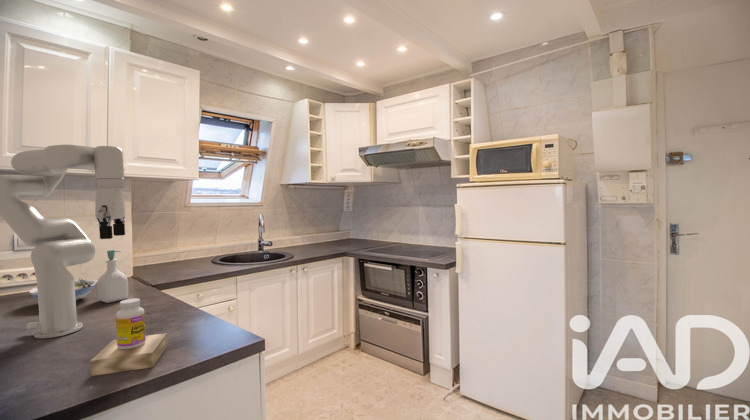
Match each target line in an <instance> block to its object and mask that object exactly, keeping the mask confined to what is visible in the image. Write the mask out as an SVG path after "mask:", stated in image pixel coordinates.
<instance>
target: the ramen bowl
mask: <svg viewBox="0 0 750 420" xmlns="http://www.w3.org/2000/svg"><path fill="white" fill-rule="evenodd" d="M74 282H75V297H76V301H78V300H79V299H81V298H84V297H86V296H87V295H88V294H89V293H91V291H92V290H93V289H94V287H95V286H96V285H97V282H98V280H93V279H83V278H80V277H79V278H78V280H74ZM28 293H29V294H30V295H31V296H32V297H33V298H34V299H35V300H37V301H38V290H37V287H34V288H31V289H30V290H29V291H28Z"/></svg>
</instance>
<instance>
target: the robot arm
mask: <svg viewBox="0 0 750 420" xmlns="http://www.w3.org/2000/svg"><path fill="white" fill-rule="evenodd" d="M10 165H11V167H12V168H13V169H14V170H15V171H16V172H17V173H20V174H0V217H1V219H3V220H4V221H5V222H6V223H7V225H8V226H9V228H10V229H11V230H12V231H13V232H14V234H16V236H17V237H18V238H19V240H20V241H22V242H23V243H24V244H25V245H26V246H30V247H34V248H33V249H32V250H31V251H30V260H31V263H32V266H33V269H34V274H35V278H36V288H37V290H38V300H37V301H38V302H37V305H38V316H39V317H38V318H39V321H36V322H35V321H34V322H33V321H32V322H28V323H26V330H27V331H31V330H35V332H34V333H33V336H34V338H36V339H53V338H58V337H62V336H65V335H70V334H73V333H75V332H77V331H79V330H81V329H83V328H84V324H83V322H81V321H78V316H77V315H78V314H77V300H76V297H75V282H74V281H75V277H74V276H73V274H72V273H71V272H70V271H69V269H67V268H68V267H72V266H77V265H82V264H86V263H89V262H90V261H92V260H93V259H94V258H95V255H96V249H95V245H94V244H93V242H92V241H91V239H90V238H89V237H88V236H87V234H86V233H85V232H84V231H83V230H82V228H80V226H79V225H78V224H77V223H76V222H75V221H74V220H72V219H70V218H68V217H67V218H66V217H44V216H43V215H41V214H40V213H39V211H38V210H37V209H36V208H35V207H34V206H32V205H31V204H29V203H27V202H25V201H22V200H29V199H32V200H34V199H35V200H36V199H37V200H38V199H44V198H45V199H46V198H47V197H49V196H50V195H51V194H52V193H53V192H54V191H55V189H56V188H57V187H58V185H59V183H60V182H61V181H62V180H63V178H64V177H65V175H66V173H67V172H68V170H84V171H85V170H88V171H94V179H95V180H94V181H95V190H96V192H95V219H96V220H97V221H98V227H99V229H98V231H99V239H100V240H111V239H112V238H113V236H125V235H126V228H125V227H126V226H125V225H126V224H125V223H126V221H125V215H126V214H125V213H126V210H125V198H124V191H123V190H125V170H124V167H125V166H124V153H123V150H122V148H120V147H117V146H113V145H97V146H96V147H92V146H84V145H79V144H78V145H76V144H56V145H48V146H46V147H45V148H44V149H34V150H32V149H31V150H23V151H20V152H18V153H15V154H14V155H13V156H12V158H11V161H10ZM21 174H22V175H21ZM112 222H113V223H112ZM111 224H112V225H111Z"/></svg>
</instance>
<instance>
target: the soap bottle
mask: <svg viewBox="0 0 750 420" xmlns="http://www.w3.org/2000/svg"><path fill="white" fill-rule="evenodd" d="M106 253H107V257H108V259H105V260H104V262H105V263H106V271H105V272H104V273H102V274H101V275H100V276H99V277H98V280H97V282H96V285H97V286H96V287H97V288H96V289H97V298H98V300H99V301H100V302H104V303H106V304H108V303H114V302H117V301H123V300H127V299H128V297H129V283H128V281H129V280H128V277H127V276H126V274H124V272H122V271H120V270H119V269H118V268H117V262H118V260H119V259H118V258H115V255H116V253H120V251H118V250H115V249H109V250H106Z"/></svg>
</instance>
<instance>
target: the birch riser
mask: <svg viewBox="0 0 750 420" xmlns="http://www.w3.org/2000/svg"><path fill="white" fill-rule="evenodd" d="M145 337H146V341H145V343H144V344H143V345H141V346H139V347H136V348H133V349H127V350H122V349H119V348H118V347H117V338H115V339H113V340H111V342H109V344H107V345H106V346H105V347H103V349H102V350H101V351H99V352H98V353H97V354H96V355H95V356H94V357H92V358H91V360H90V374H91V375H90V376H91V377H94V376H100V375H106V374H107V375H108V374H113V373H114V374H115V373H121V372H122V373H123V372H128V371H135V370H136V371H137V370H142V369H143V370H144V369H151V368H154V366H155V365H156V363H157V362H158V361H159V360H160V358H161V356H162V355H163V353H164V352H165V351H166V349H167V348H168V347H169V345H168V342H169V341H168V333H167V332H165V333H157V334H149V335H145Z"/></svg>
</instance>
